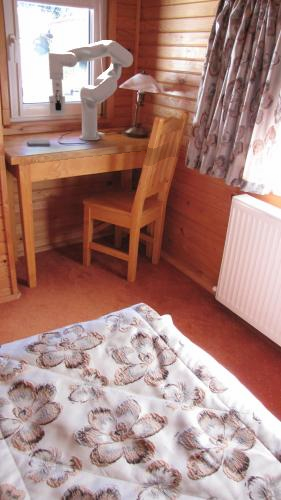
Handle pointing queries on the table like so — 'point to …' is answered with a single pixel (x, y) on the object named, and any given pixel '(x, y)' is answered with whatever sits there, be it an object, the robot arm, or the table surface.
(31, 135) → the table surface
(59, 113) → the small box
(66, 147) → the table surface
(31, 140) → the grey board
